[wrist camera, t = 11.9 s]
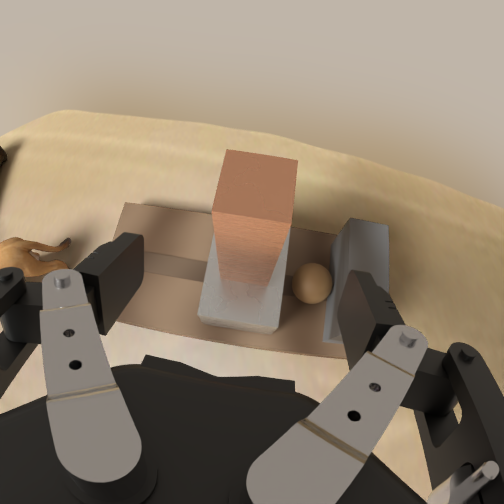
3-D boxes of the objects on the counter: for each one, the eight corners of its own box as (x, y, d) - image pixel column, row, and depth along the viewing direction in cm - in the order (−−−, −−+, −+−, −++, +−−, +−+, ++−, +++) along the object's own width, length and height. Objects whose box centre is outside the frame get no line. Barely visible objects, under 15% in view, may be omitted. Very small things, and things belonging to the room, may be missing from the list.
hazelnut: (327, 273, 25) (338, 260, 23) (324, 309, 24) (335, 301, 22) (291, 267, 26) (298, 254, 23) (286, 304, 24) (293, 295, 22)
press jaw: (283, 235, 26) (322, 123, 14) (270, 334, 23) (311, 293, 11) (222, 225, 26) (216, 107, 14) (203, 323, 23) (169, 270, 11)
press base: (366, 250, 29) (399, 215, 22) (359, 360, 25) (398, 354, 18) (131, 212, 29) (107, 170, 22) (102, 317, 25) (64, 298, 19)
